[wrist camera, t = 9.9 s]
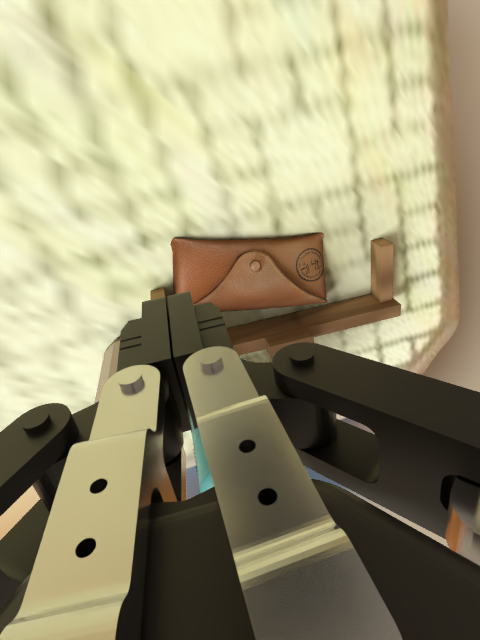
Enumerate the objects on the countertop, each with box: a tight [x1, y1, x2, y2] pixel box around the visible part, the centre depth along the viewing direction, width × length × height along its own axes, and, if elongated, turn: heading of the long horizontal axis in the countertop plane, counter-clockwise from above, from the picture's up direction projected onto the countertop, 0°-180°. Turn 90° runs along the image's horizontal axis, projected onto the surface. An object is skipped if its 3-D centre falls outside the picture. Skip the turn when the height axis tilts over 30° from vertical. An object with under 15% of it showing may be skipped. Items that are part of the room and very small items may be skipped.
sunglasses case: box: [171, 233, 327, 312], centre depth 47 cm, size 18×7×7 cm
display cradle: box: [151, 238, 401, 358], centre depth 47 cm, size 8×28×6 cm, turn 99°
